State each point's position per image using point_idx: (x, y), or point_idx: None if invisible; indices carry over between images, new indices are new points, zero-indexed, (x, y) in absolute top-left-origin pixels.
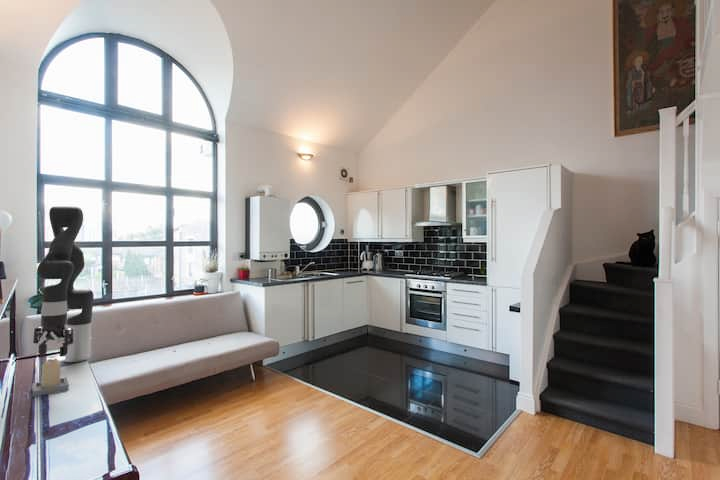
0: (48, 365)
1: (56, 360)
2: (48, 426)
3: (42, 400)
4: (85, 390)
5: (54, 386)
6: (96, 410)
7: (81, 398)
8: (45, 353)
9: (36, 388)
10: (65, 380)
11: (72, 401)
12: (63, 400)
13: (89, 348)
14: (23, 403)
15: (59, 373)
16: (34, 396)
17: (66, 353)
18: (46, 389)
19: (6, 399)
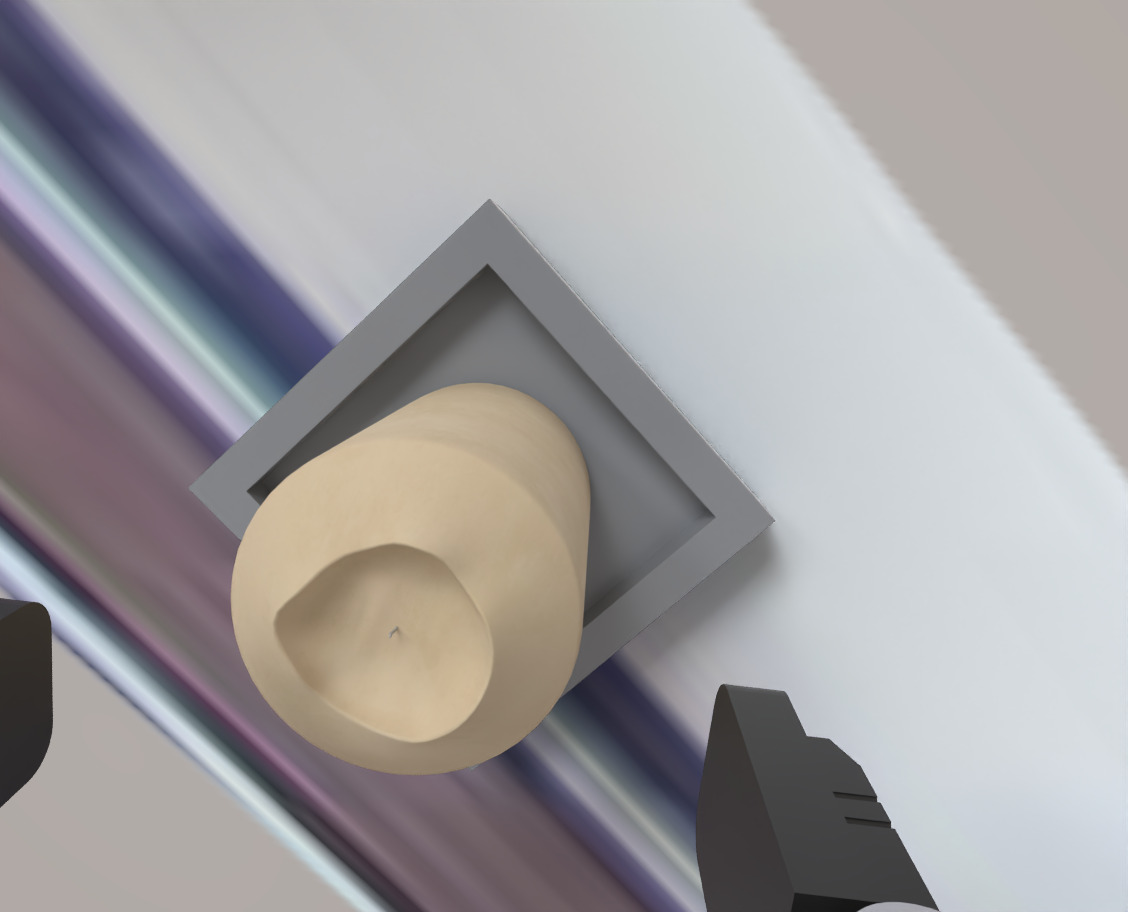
0: (467, 764)
1: (503, 633)
2: None
3: (685, 819)
4: (1009, 504)
5: (621, 600)
6: None
7: (1124, 754)
8: (37, 622)
9: None
10: (591, 352)
11: (1069, 837)
12: (939, 813)
13: None
14: (537, 897)
15: (584, 517)
16: None
17: (839, 771)
18: (576, 677)
19: (238, 802)
